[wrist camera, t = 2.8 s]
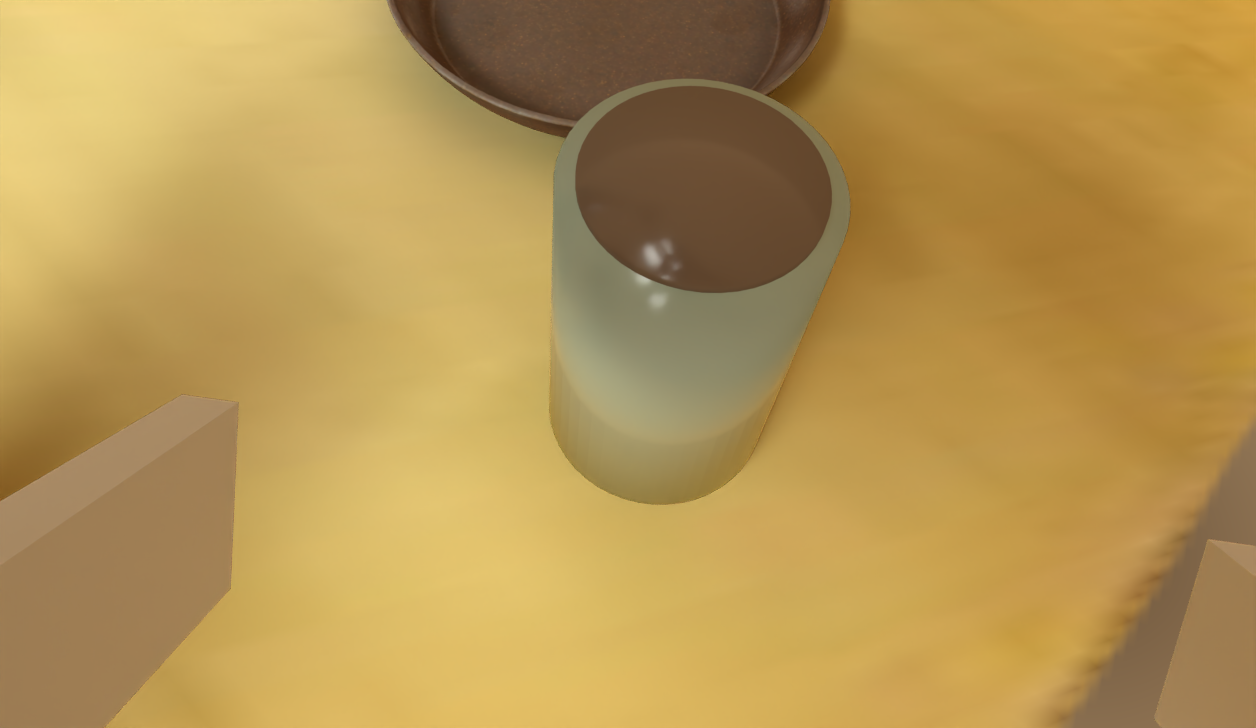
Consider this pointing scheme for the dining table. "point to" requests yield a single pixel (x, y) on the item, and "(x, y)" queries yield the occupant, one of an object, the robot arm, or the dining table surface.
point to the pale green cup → (683, 280)
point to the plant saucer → (603, 48)
